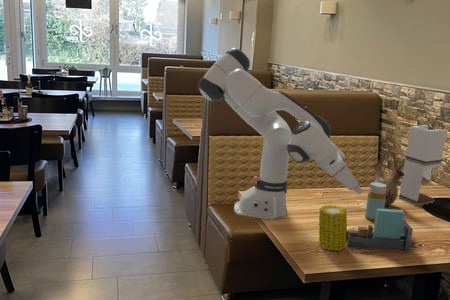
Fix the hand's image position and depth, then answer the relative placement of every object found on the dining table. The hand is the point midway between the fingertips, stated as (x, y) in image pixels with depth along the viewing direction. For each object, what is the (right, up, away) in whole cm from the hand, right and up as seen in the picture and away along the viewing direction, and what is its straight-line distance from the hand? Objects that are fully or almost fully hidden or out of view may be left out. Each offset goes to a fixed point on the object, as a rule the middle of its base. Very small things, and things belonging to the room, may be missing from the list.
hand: (357, 187), depth 150 cm
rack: (+8, -21, +5) cm, 24 cm away
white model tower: (+44, -11, +54) cm, 71 cm away
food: (-8, -21, +4) cm, 23 cm away
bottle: (+16, -16, +30) cm, 38 cm away
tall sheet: (+11, -22, +5) cm, 25 cm away
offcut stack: (+3, -21, +6) cm, 22 cm away
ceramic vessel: (+26, -12, +47) cm, 55 cm away
